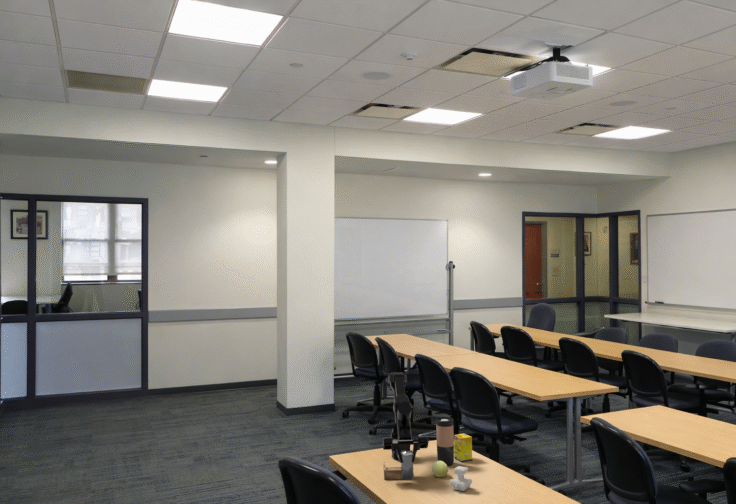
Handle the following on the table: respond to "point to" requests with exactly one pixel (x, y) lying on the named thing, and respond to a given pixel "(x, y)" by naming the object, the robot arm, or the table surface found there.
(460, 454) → the supplement box
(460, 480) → the stamp
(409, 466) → the canister
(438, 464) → the tennis ball
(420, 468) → the table surface
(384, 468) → the holder
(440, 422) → the travel mug
